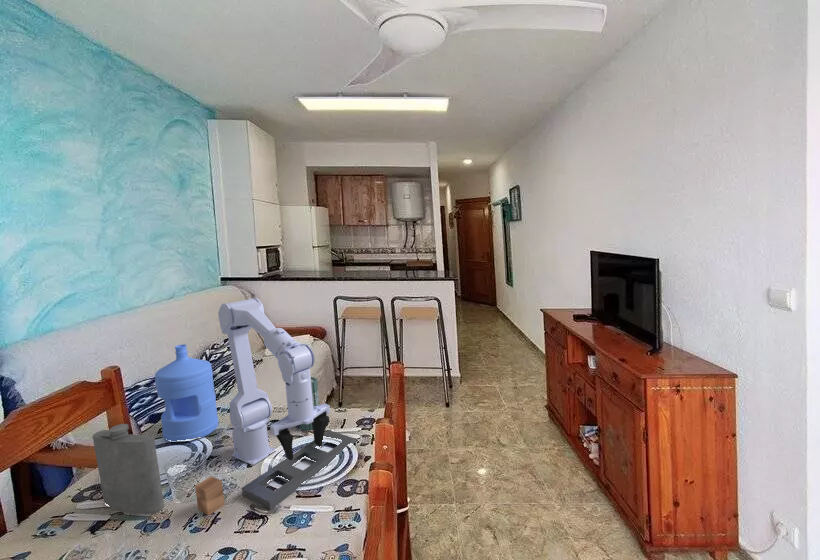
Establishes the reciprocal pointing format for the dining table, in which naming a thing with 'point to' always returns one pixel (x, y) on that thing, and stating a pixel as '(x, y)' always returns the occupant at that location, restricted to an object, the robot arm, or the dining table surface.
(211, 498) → the square block
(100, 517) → the dining table surface
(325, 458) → the grey flat perforated plate
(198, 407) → the water jug
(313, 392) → the can
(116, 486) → the hip flask
